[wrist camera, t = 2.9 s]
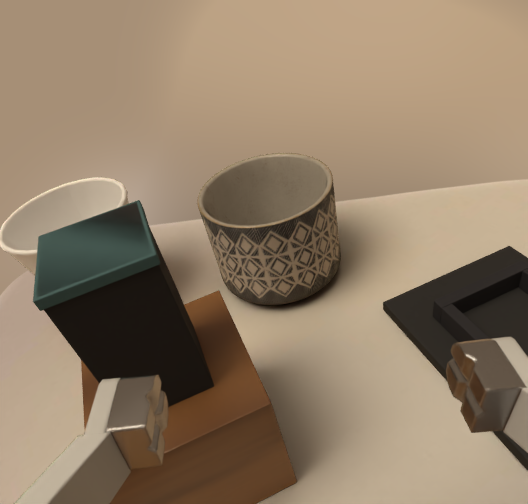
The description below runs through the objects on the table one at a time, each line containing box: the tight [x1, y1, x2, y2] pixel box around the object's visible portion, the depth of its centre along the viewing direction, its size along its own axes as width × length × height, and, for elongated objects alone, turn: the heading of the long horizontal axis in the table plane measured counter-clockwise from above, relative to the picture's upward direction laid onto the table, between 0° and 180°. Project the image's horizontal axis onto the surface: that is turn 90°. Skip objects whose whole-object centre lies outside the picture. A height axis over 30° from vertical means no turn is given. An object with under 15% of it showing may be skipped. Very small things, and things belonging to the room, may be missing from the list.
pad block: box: [33, 200, 214, 407], centre depth 23 cm, size 5×5×10 cm
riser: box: [81, 291, 297, 504], centre depth 29 cm, size 10×10×10 cm
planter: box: [198, 153, 340, 305], centre depth 43 cm, size 13×13×10 cm
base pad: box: [383, 246, 528, 470], centre depth 33 cm, size 16×14×3 cm
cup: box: [0, 178, 129, 275], centre depth 43 cm, size 12×12×12 cm
